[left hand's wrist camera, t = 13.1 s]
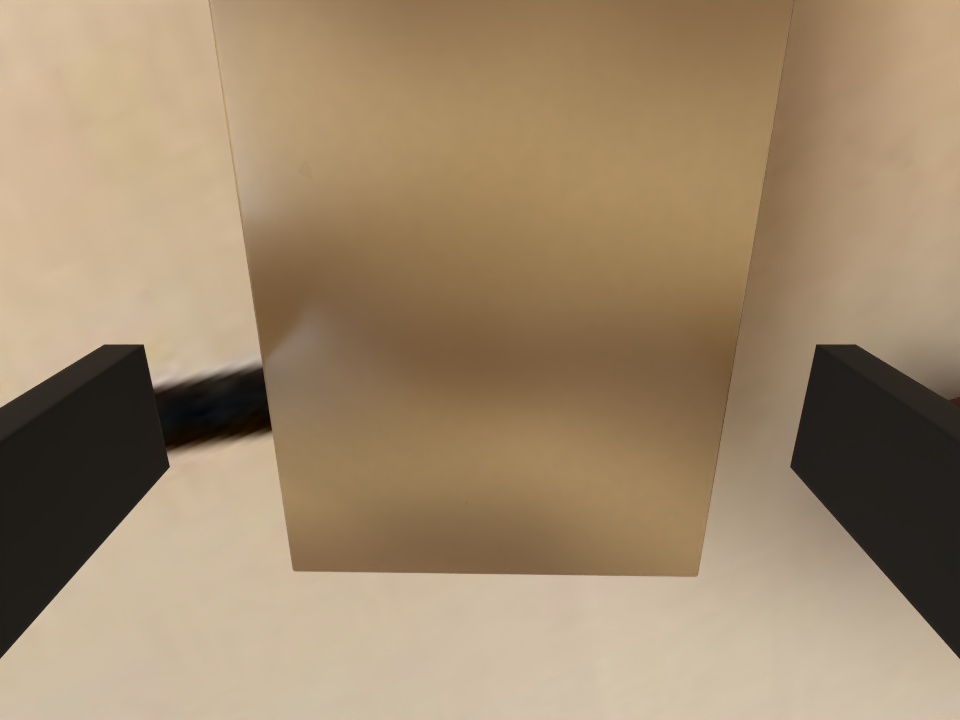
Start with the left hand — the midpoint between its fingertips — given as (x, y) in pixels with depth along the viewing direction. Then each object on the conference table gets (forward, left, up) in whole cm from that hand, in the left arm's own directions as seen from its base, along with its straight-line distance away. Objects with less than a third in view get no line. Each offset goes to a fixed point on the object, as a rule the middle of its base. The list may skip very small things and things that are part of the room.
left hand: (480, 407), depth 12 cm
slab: (+20, +9, -7) cm, 24 cm away
